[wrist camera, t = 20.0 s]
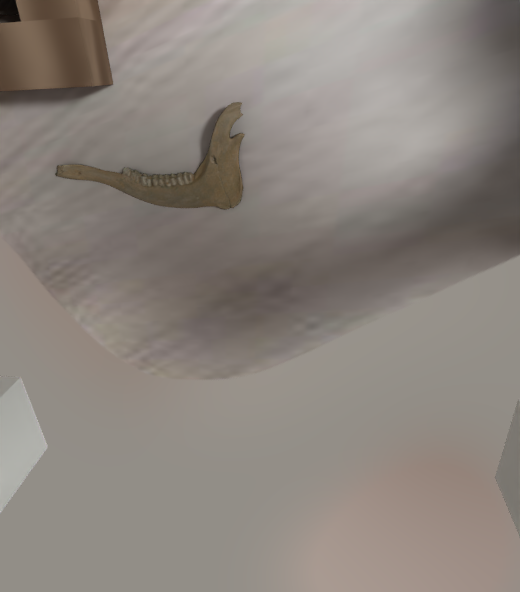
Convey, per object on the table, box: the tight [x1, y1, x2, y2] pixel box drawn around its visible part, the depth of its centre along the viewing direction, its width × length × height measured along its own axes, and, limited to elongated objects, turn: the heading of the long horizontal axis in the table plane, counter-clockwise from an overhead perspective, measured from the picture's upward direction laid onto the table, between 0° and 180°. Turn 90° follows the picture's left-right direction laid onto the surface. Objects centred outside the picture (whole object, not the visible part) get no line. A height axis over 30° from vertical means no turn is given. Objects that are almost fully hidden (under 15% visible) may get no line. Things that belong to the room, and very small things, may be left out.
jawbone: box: [56, 102, 244, 209], centre depth 42 cm, size 9×20×2 cm, turn 109°
